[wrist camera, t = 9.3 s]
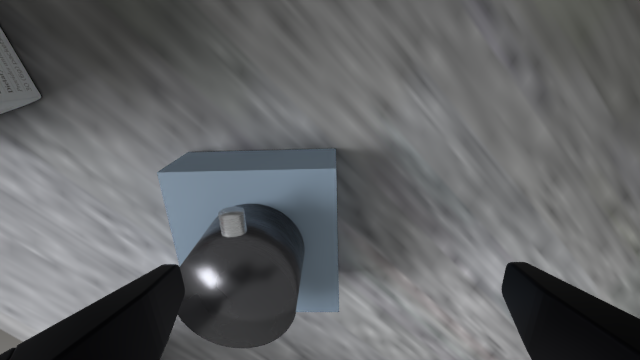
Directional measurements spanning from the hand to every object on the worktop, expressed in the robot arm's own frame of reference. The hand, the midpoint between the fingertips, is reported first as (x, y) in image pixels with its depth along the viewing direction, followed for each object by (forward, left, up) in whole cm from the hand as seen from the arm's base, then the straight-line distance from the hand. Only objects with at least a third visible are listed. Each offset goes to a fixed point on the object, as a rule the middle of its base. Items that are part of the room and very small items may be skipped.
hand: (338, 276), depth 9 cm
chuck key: (-5, -5, -12) cm, 14 cm away
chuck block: (-5, -5, -13) cm, 15 cm away
